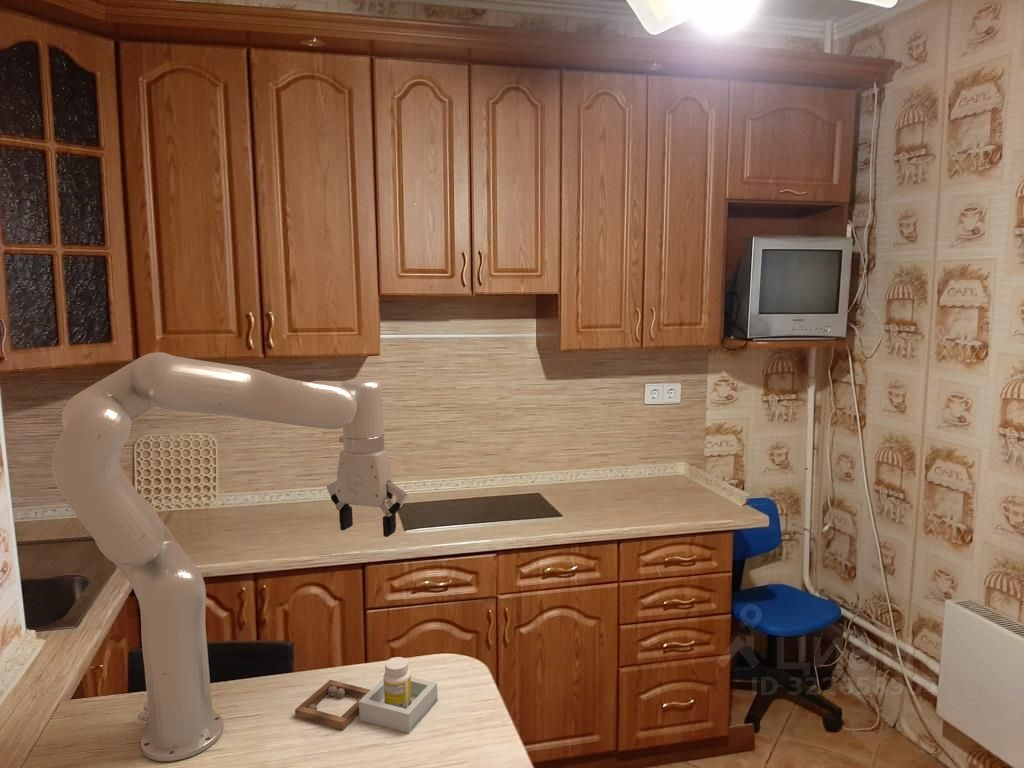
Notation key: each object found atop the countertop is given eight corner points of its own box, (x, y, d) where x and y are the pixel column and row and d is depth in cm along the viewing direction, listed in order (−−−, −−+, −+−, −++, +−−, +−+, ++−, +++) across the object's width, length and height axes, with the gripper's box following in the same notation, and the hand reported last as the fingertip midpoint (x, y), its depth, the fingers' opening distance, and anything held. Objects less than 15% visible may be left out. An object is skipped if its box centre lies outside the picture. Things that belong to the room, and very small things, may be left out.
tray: (295, 717, 125) (294, 707, 124) (330, 687, 134) (330, 678, 134) (342, 730, 121) (342, 720, 121) (375, 698, 130) (375, 689, 130)
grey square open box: (359, 720, 124) (358, 701, 123) (390, 689, 133) (389, 672, 132) (409, 733, 120) (408, 714, 119) (437, 700, 129) (437, 683, 129)
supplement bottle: (399, 695, 129) (397, 652, 128) (417, 705, 127) (416, 661, 125) (378, 707, 126) (377, 663, 124) (396, 718, 123) (395, 673, 122)
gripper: (313, 445, 133) (318, 532, 136) (392, 452, 127) (396, 544, 129) (338, 436, 140) (342, 519, 143) (414, 443, 133) (417, 530, 136)
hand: (367, 531), depth 136 cm, fingers open, 9 cm apart
